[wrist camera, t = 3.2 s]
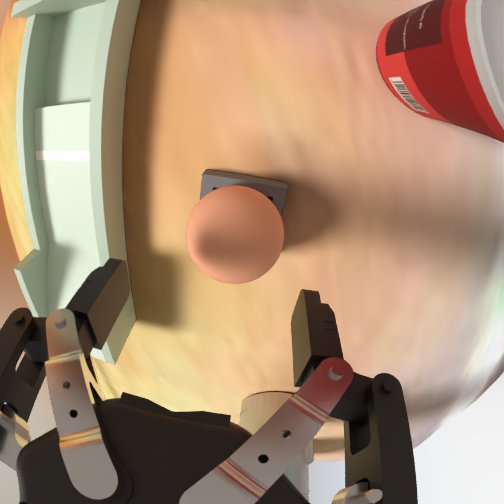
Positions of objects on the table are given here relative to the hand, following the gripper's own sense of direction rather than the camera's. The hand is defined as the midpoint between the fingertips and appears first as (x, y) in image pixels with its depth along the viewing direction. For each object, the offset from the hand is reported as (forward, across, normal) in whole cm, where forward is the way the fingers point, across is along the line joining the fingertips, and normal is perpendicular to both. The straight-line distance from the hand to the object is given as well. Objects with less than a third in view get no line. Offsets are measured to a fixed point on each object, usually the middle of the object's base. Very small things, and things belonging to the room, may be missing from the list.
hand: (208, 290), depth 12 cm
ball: (+6, -1, 0) cm, 6 cm away
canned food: (+9, -11, -14) cm, 20 cm away
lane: (+9, +13, -1) cm, 16 cm away
